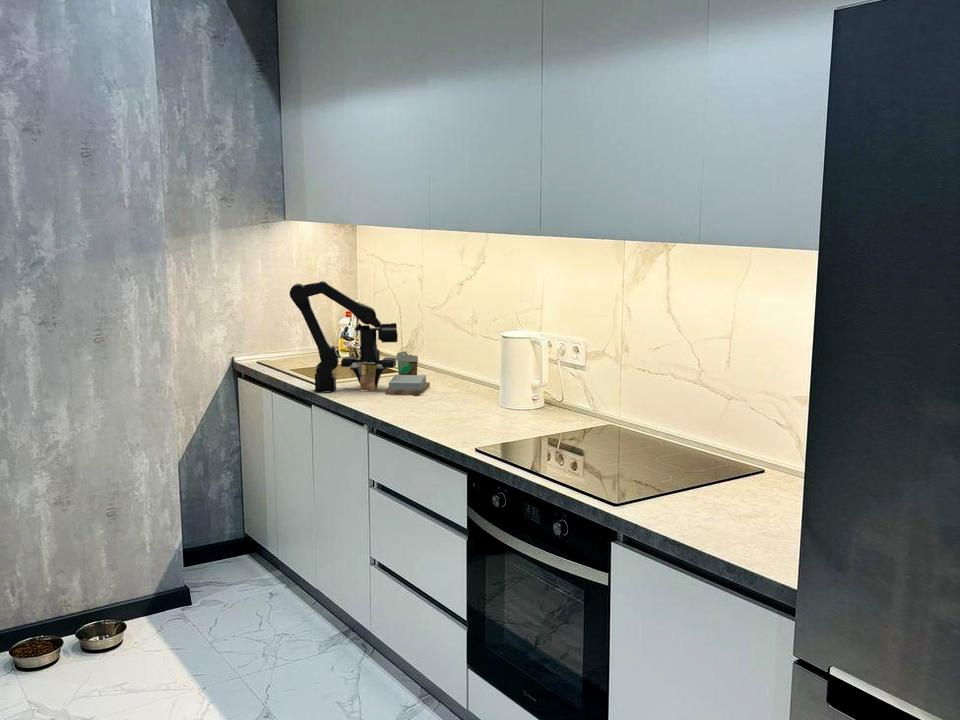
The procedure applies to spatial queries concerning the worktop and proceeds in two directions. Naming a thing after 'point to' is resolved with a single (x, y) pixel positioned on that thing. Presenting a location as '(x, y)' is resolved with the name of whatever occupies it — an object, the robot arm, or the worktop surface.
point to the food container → (406, 363)
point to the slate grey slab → (407, 382)
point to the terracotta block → (368, 382)
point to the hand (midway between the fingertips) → (369, 386)
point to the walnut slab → (407, 391)
